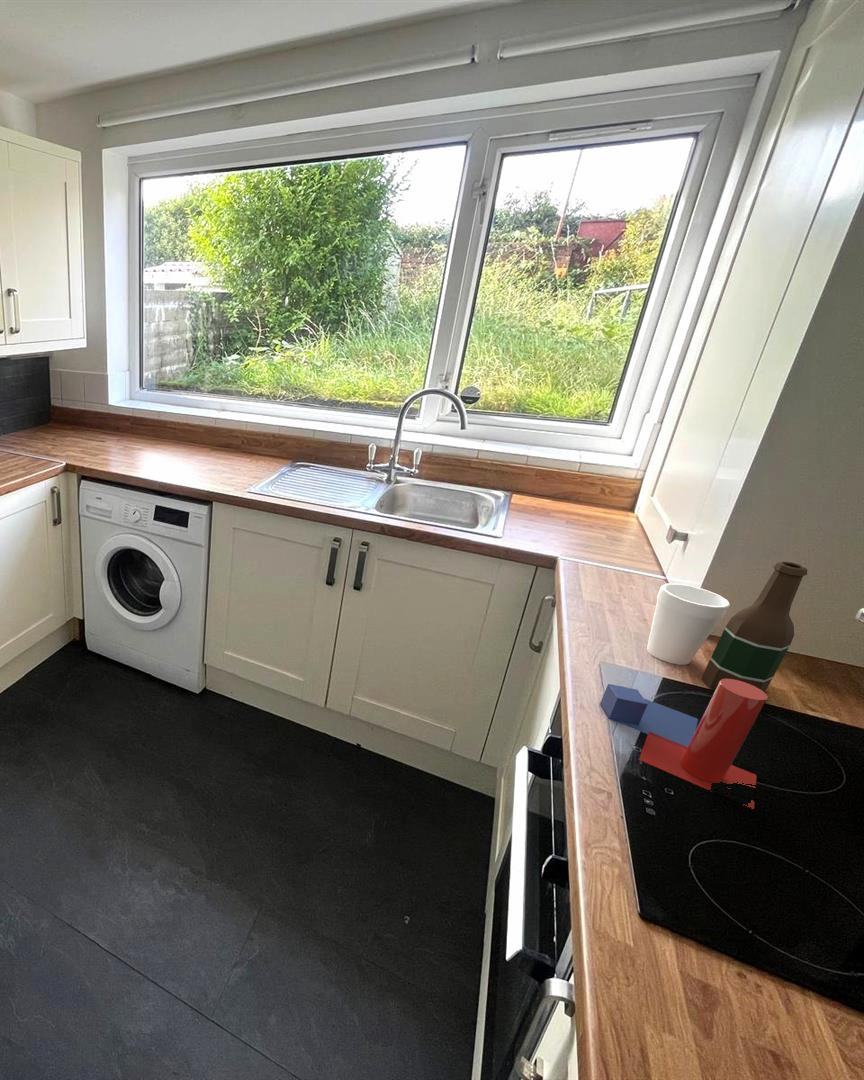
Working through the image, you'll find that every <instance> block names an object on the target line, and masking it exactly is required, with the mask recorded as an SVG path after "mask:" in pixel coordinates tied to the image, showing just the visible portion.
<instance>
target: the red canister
mask: <svg viewBox="0 0 864 1080" xmlns="http://www.w3.org/2000/svg"><path fill="white" fill-rule="evenodd" d="M767 700H768V695H767V693H766V692H765V693H764V692H763V691H762V690H760V689H759V688H757V687H755V686H753V685H750V684H748V683H745V682H742V681H739V680H734V679H722V680H720V682H719V684H718V686H717V688H716V690H715V691H714V692H713V694H712V696H711V698H710V700H709V702H708V704H707V706H706V708H705V711H704V712H703V715H702V716H701V718H700V720H699V721H698V723H697V727H696V730H695V732H694V735H693V737H692V739H691V741H690V743H689V745H688V747H687V749H686V751H685V753H684V755H683V757H682V759H681V761H680V764H681V766H682V767H683V769H685V770H686V771H687V772H688V773H690V774H691V775H693V776H695V777H697V778H699V779H701V780H704V781H707V782H711V783H720V782H722V781H723V780H724V778H725V776H726V774H727V772H728V771H729V769H730V767H731V765H733V763H734V761H735V759H736V758H737V756H738V754H739V753H740V750H741V748H742V746H743V745H744V743H745V741H746V739H747V737H748V735H749V733H750V731H751V730H752V728H753V726H754V724H755V722H756V720H757V719H758V717H759V715H760V713H761V711H762V709H763V707H764V706H765V703H766V702H767Z"/></svg>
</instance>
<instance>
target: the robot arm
mask: <svg viewBox="0 0 864 1080" xmlns="http://www.w3.org/2000/svg"><path fill="white" fill-rule="evenodd" d="M855 620H857V621H858V622H860V623H862V624H864V607H862V608H860V609H859V610H858V611H857V613H856V615H855Z"/></svg>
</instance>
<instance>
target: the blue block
mask: <svg viewBox="0 0 864 1080" xmlns="http://www.w3.org/2000/svg"><path fill="white" fill-rule="evenodd" d="M645 699H646V698H645V697H643V696H642V694H641V692H640V690H638V689H636V688H631V687H626V686H621V685H617V684H611V683H608V684H607V685H606V688H605V690H604V693H603V694H602V698H601V700H600V703H599V705H600V706H601V708H602V710H603V712H604V713H605V714H606V716H607V719H609V720H611V719H613V720H612V721H614V720H618V721H623V722H627V723H632V724H637V725H639V723H640V721H641V719H642V716H643V714H644V712H645V710H646V707H647V705H648V704H647V702H646V701H645Z"/></svg>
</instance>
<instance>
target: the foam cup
mask: <svg viewBox="0 0 864 1080" xmlns="http://www.w3.org/2000/svg"><path fill="white" fill-rule="evenodd" d="M655 604H656V605H655V609H654V614H653V618H652V622H651V627H650V631H649V632H650V633H649V635H648V636H649V637H648V642H647V647H646V650H647V652H648V654H650V655H651V656H652V657H654V658H656V659H658V660H660V661H663V662H666V663H669V664H673V665H679V666H682V665H683V666H685V665H689V664H690V663H691V661H692V660H693V659H694V657H695V656H696V655H697V653H698V651H700V649H701V647H702V646H703V645H704V644H705V642H706V640H707V639H708V638H709V636H710V635H711V634H712V633H713V630H714V629H715V628H716V626H717V625H718V623H719V622H720V621H721V619H722V618H724V617H726V614H727V612H728V610H729V607H730V605H731V604H730V602H729V600H728V599H726V598H725V597H723V596H722V595H720V594H718V593H715V592H713V591H711V590H708V589H705V588H702V587H697V586H694V585H691V584H684V583H683V584H682V583H678V582H677V583H676V582H675V583H674V582H673V583H672V582H671V583H669V582H668V583H664V584H662V585H660V588H659V590H658V593H657V594H656V603H655Z"/></svg>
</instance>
